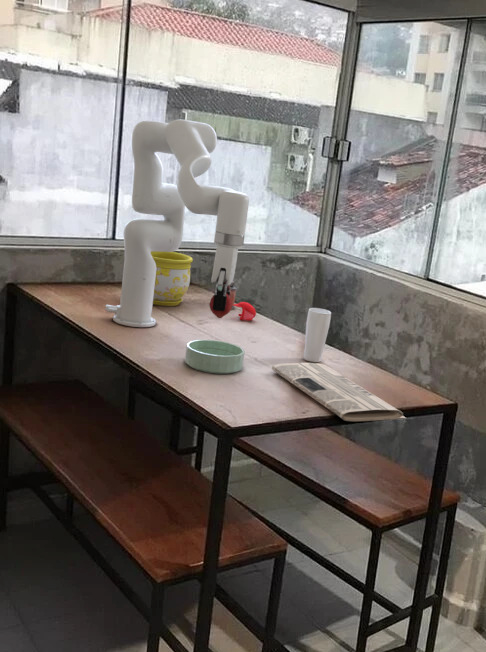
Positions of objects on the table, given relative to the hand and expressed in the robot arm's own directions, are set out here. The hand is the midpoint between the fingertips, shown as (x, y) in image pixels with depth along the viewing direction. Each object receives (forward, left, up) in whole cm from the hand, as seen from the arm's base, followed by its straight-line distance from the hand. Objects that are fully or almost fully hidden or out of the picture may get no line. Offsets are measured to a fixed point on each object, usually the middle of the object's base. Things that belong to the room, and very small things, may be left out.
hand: (220, 307), depth 212 cm
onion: (0, 0, -3) cm, 3 cm away
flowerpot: (-28, +67, -16) cm, 74 cm away
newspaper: (+33, -9, -16) cm, 38 cm away
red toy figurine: (+2, +60, -16) cm, 62 cm away
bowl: (0, 0, -16) cm, 16 cm away
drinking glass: (+26, +21, -16) cm, 37 cm away
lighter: (-7, +76, -16) cm, 77 cm away
